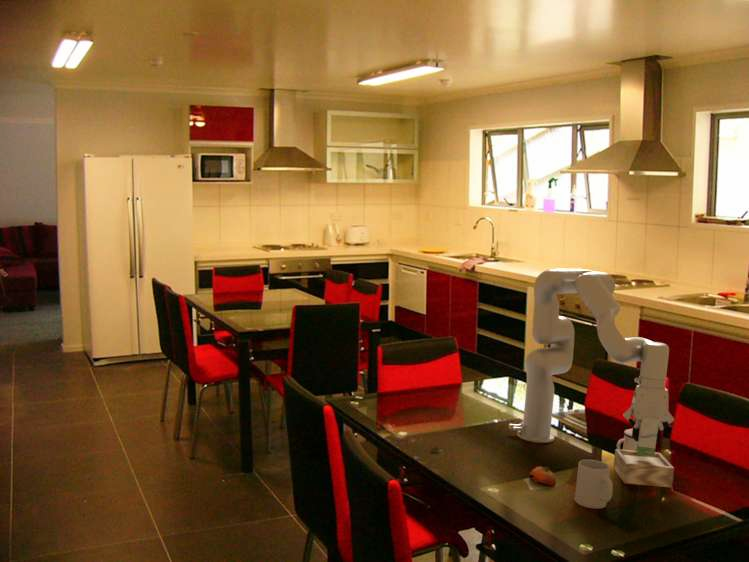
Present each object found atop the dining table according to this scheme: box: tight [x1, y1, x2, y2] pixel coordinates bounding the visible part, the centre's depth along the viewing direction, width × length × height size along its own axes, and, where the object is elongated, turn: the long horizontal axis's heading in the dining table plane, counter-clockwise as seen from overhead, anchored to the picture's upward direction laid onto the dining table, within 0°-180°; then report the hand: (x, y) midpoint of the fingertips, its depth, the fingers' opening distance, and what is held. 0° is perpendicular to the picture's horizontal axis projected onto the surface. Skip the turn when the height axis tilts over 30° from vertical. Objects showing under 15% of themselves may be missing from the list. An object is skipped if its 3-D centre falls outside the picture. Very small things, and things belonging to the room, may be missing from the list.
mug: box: [574, 459, 614, 510], centre depth 221 cm, size 12×8×11 cm
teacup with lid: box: [616, 427, 636, 451], centre depth 263 cm, size 12×9×12 cm
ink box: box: [635, 416, 659, 457], centre depth 246 cm, size 9×5×12 cm, turn 169°
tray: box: [613, 448, 675, 488], centre depth 247 cm, size 14×14×6 cm
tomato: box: [528, 466, 557, 487], centre depth 237 cm, size 8×7×7 cm
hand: (646, 440), depth 246 cm, fingers closed on ink box, 5 cm apart
